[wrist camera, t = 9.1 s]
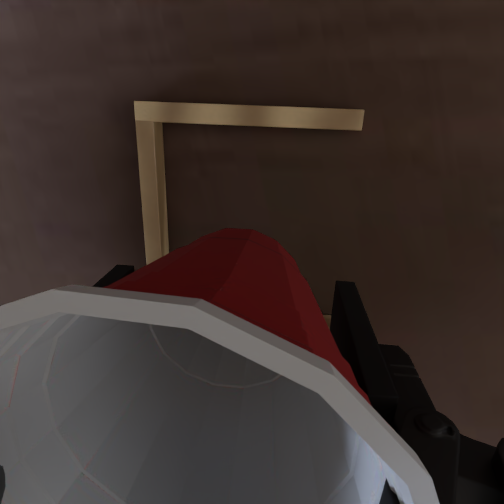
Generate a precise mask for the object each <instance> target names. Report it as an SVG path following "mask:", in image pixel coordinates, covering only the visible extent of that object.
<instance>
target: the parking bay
mask: <svg viewBox="0 0 504 504" xmlns="http://www.w3.org/2000/svg"><path fill="white" fill-rule="evenodd" d="M134 111H135V123H136V136H137V149H138V162H139V175H140V188H141V201H142V213H143V226H144V239H145V252H146V265H148V264H150V263H151V262H153V261H155V260H157V259H159V258H161V257H163V256H164V255H166V254H168V253H169V242H168V223H167V203H166V184H165V165H164V146H163V126H162V122H165V123H189V124H213V125H237V126H261V127H285V128H309V129H333V130H357V131H361V130H362V125H363V118H364V109H338V108H311V107H285V106H258V105H231V104H205V103H178V102H151V101H134ZM323 317H324V319H325V321H326V323H327V325H328V327H329V329H330V322H331V315H323Z"/></svg>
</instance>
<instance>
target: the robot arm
mask: <svg viewBox="0 0 504 504" xmlns="http://www.w3.org/2000/svg"><path fill="white" fill-rule="evenodd" d="M133 272H134V266H129V265H116V266H115V267H114V268H113V269H112V270H111V271H109V272H108V273H107V274H106V275H105V276H104V277H103V278H101V279H100V280H99V281H98V282H97V283H96V284H95V285H94V286H92V287H99V288H102V287H106V286H109V285H110V284H112V283H114V282H116V281H118V280H120V279H122V278H123V277H125V276H127V275H129V274H131V273H133ZM329 330H330V332H331V334H332V336H333V338H334V340H335V343H336V345H337V347H338V349H339V351H340V353H341V355H342V357H343V358H344V359H345V360H346V361H347V362H348V363H349V364H350V366H351V369H352V371H353V374H354V376H355V378H356V381H357V383H358V386H359V387H360V388H361V389H362V390H363V391H364V392H365V393H366V394H367V396H368V398H369V401H370V403H371V405H372V407H373V408H374V409H375V410H376V411H377V413H378V414H379V415H380V416H381V417H382V418H383V419H384V420H385V421H386V422H387V423H388V424H389V425H390V426H391V427H392V428H393V429H394V430H395V432H396V433H397V434H398V435H399V436H400V437H401V438H402V439H403V440H404V441H405V442H406V443H407V444H408V445H409V446H410V447H411V448H412V449H413V450H414V452H415V453H416V454H417V456H418V457H419V459H420V460H421V462H422V463H423V465H424V467H425V468H426V470H427V471H428V473H429V474H430V476H431V477H432V480H433V483H434V487H435V490H436V493H437V497H438V500H439V504H504V438H502V439H501V440H500V442H499V443H498V445H497V447H494V446H491V445H488V444H485V443H482V442H479V441H476V440H473V439H471V438H468V437H466V436H464V435H462V434H460V433H459V430H458V429H457V427H456V426H455V424H454V423H453V422H452V421H451V420H450V419H449V418H447V417H446V416H445V415H443V414H441V413H440V412H438V411H436V409H435V407H434V405H433V403H432V401H431V399H430V397H429V395H428V393H427V391H426V389H425V387H424V385H423V383H422V381H421V379H420V378H419V375H418V373H417V371H416V369H414V365H413V363H412V361H411V359H410V357H409V355H408V354H407V353H405V352H404V351H403V350H402V349H401V348H400V347H399V346H395V345H384V344H378V342H377V339H376V337H375V334H374V331H373V329H372V326H371V324H370V321H369V319H368V316H367V313H366V311H365V308H364V306H363V303H362V301H361V298H360V295H359V293H358V290H357V288H356V285H355V283H354V282H347V281H336V285H335V292H334V300H333V307H332V314H331V322H330V329H329ZM5 487H6V484H5V472H4V469H3V466H1V465H0V504H1V502H2V498H3V494H4V491H5ZM379 504H400V502H399V499H398V497H397V494H395V493H394V492H393V491H392V490H391V489H390V486H389V483H388V481H387V478H386V481H385V484H384V488H383V491H382V495H381V499H380V502H379Z"/></svg>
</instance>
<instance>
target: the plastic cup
mask: <svg viewBox="0 0 504 504" xmlns="http://www.w3.org/2000/svg"><path fill="white" fill-rule="evenodd" d="M0 465H1V466H3V469H4V472H5V484H6V487H5V491H4V494H3V498H2V502H1V504H379V502H380V499H381V495H382V491H383V488H384V484H385V481H386V478H387V481H388V483H389V486H390V489H391V490H392V491H393V492H394V493H395V494H397V497H398V499H399V502H400V504H439V500H438V497H437V493H436V490H435V487H434V483H433V480H432V477H431V476H430V474H429V473H428V471H427V470H426V468H425V467H424V465H423V463H422V462H421V460H420V459H419V457H418V456H417V454H416V453H415V452H414V450H413V449H412V448H411V447H410V446H409V445H408V444H407V443H406V442H405V441H404V440H403V439H402V438H401V437H400V436H399V435H398V434H397V433H396V432H395V430H394V429H393V428H392V427H391V426H390V425H389V424H388V423H387V422H386V421H385V420H384V419H383V418H382V417H381V416H380V415H379V414H378V413H377V411H376V410H375V409H374V408H373V407H372V405H371V403H370V401H369V398H368V396H367V394H366V393H365V392H364V391H363V390H362V389H361V388H360V387H359V386H358V383H357V381H356V378H355V376H354V374H353V371H352V369H351V366H350V364H349V363H348V362H347V361H346V360H345V359H344V358H343V357H342V355H341V353H340V351H339V349H338V347H337V345H336V343H335V340H334V338H333V336H332V334H331V332H330V330H329V327H328V325H327V323H326V321H325V319H324V317H323V314H322V312H321V310H320V308H319V306H318V304H317V302H316V299H315V297H314V295H313V293H312V291H311V289H310V286H309V284H308V282H307V280H306V279H305V278H304V277H303V276H302V275H301V273H300V271H299V268H298V266H297V264H296V262H295V260H294V258H293V257H292V256H291V255H290V254H289V253H288V252H287V251H286V250H285V249H284V248H283V247H282V246H281V245H280V244H279V243H278V242H277V241H276V240H275V239H273V238H270V237H268V236H266V235H264V234H262V233H259V232H257V231H255V230H253V229H235V228H225V229H222V230H219V231H216V232H213V233H211V234H208V235H205V236H202V237H200V238H199V239H197V240H195V241H194V242H192V243H191V244H189V245H186V246H183V247H180V248H177V249H176V250H174V251H172V252H170V253H168V254H166V255H164V256H163V257H161V258H159V259H157V260H155V261H153V262H151V263H150V264H148V265H146V266H144V267H142V268H140V269H138V270H137V271H135V272H133V273H131V274H129V275H127V276H125V277H123V278H122V279H120V280H118V281H116V282H114V283H112V284H110V285H109V286H106V287H102V288H99V287H90V286H81V285H69V286H64V287H60V288H56V289H51V290H48V291H45V292H42V293H39V294H36V295H33V296H30V297H27V298H24V299H20V300H17V301H14V302H11V303H8V304H5V305H2V306H0Z"/></svg>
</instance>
